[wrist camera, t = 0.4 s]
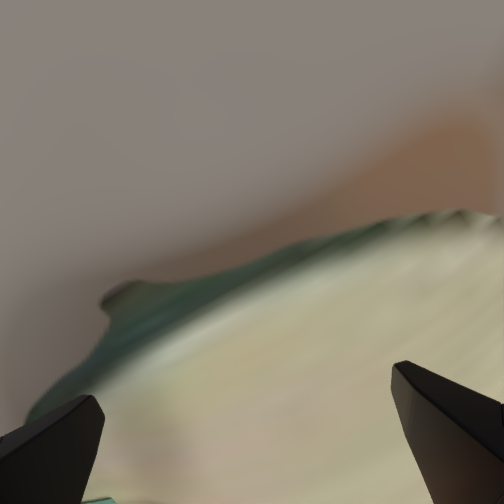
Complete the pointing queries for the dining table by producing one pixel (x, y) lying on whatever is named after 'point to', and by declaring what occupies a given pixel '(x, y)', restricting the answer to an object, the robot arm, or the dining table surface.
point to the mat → (102, 502)
